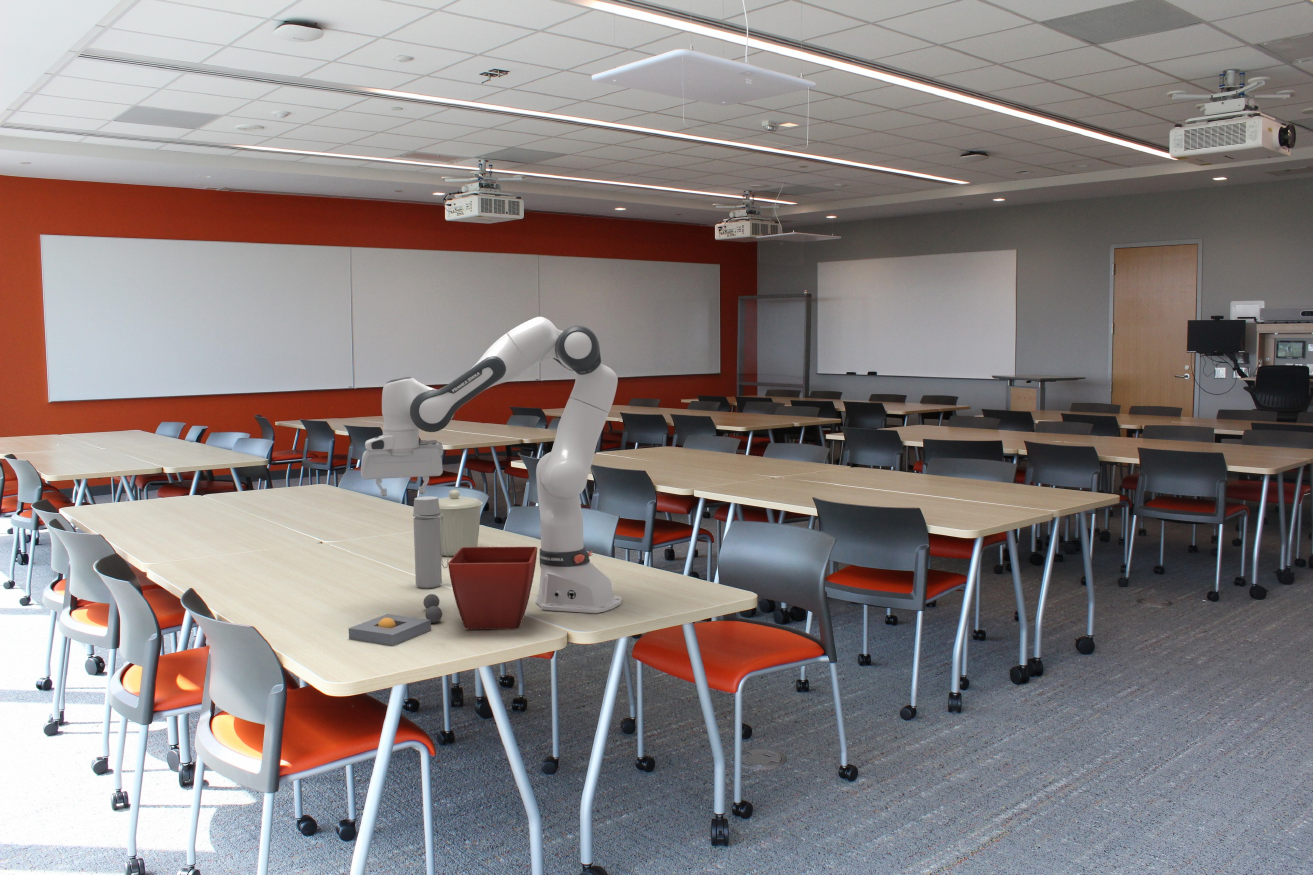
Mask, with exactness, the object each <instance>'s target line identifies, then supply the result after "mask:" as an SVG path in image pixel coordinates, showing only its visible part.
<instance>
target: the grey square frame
mask: <svg viewBox="0 0 1313 875" xmlns="http://www.w3.org/2000/svg"><path fill="white" fill-rule="evenodd" d="M383 618H391V619H393V620H394V622H395V624H396V627H394V628H385V627H378V624H379V622H380V621H381V620H382V619H383ZM431 630H432V624H431V620H428V619H426V618H421V617H420V618H419V617H413V616H406V615H398V614H392V613H387V614H384V615H381V616H378V617H375V618H372V619H370V620H367V621H364V622H362V623H360V624H357V625H356V624H355V625H353V626H351V627H348V639H349V640H352V641H353V640H355V641H361V642H366V643H372V644H373V643H374V644H378V645H379V644H380V645H385V646H396V645H399V644H401V643H404V642H406V641H408V640H411V639H414V638H416V637H418V636H420V635H423V634H425V633H427V632H430V631H431Z"/></svg>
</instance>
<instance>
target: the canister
mask: <svg viewBox="0 0 1313 875" xmlns="http://www.w3.org/2000/svg"><path fill="white" fill-rule="evenodd" d="M448 496H449V497H448ZM448 496H447V497H446V496H445V497H441V498H439V497H438V499H439V507H440V514H441V515H443V520H441V518H440V540H441V556H442V557H443V556H444V557H447V553H448V557H454V556H455V555H456V553H457V552H458V551H459V550H460V549H461V548H463V547H478V544H479V535H480V534H479V532H480V522H481V511H482V510H481V508H482V506H483V504H484V503H483V501H481V500H480V499H479V498H475V497H472V496H471V497H470V496H461V492H460V491H459V490H458V489H451V490H449V492H448ZM438 517H440V515H439V516H438ZM442 521H443V523H442ZM443 527H444V530H443ZM444 534H445V537H444ZM445 540H446V544H445ZM446 547H447V550H446Z"/></svg>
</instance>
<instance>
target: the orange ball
mask: <svg viewBox="0 0 1313 875" xmlns="http://www.w3.org/2000/svg"><path fill="white" fill-rule="evenodd" d="M378 627H385V628H394V627H396V624H395V622H394V620H393V619H391V618H383V619H382V620H381V621H380V622H379V624H378Z"/></svg>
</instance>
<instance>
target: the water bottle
mask: <svg viewBox="0 0 1313 875" xmlns="http://www.w3.org/2000/svg"><path fill="white" fill-rule="evenodd" d="M439 515H440V517H438V516H439ZM412 516H413V517H414V518H413V543H414V570H415V574H414V575H415V586H417V587H418V588H419V589H424V590H425V589H428V590H429V589H435V588H438V587H440V586H441V584H442V583H443V580H442V579H443V578H442V577H443V575H442V567H443V569H448V568H449V567H448V562H449V560H447V564H446V566H444V561H443V560H442V555H441V540H440V518H441V520H443V515H441V514H440V507H439V497H437V496H418V497H415V498H414V500H413V512H412ZM442 523H443V521H442ZM443 530H444V527H443ZM444 537H445V534H444ZM445 544H446V540H445ZM446 550H447V547H446ZM446 557H447V558H449V556H448V553H447V556H446Z"/></svg>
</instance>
